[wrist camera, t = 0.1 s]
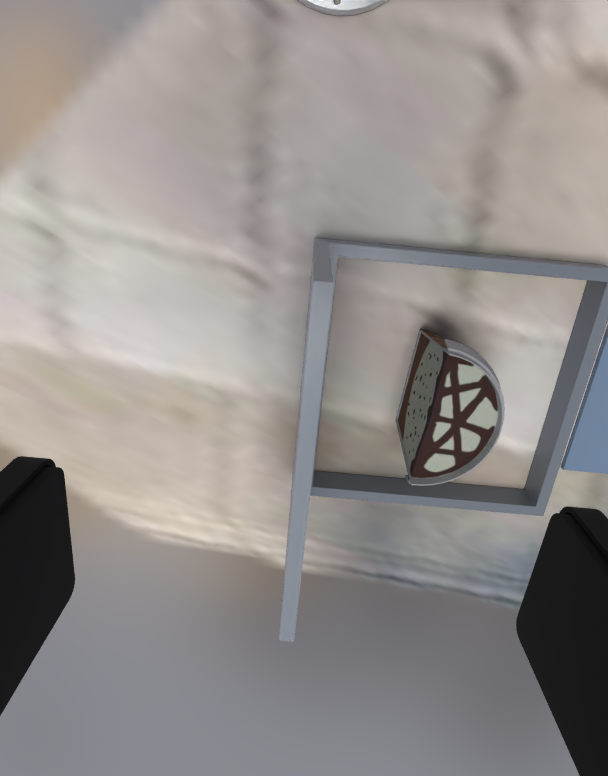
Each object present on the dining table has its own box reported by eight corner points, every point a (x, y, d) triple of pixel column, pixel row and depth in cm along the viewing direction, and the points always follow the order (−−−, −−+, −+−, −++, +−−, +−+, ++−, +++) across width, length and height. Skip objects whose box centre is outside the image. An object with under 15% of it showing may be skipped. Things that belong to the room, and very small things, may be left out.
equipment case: (314, 237, 43) (313, 280, 24) (604, 265, 43) (819, 328, 25) (292, 477, 52) (279, 640, 33) (531, 498, 52) (648, 671, 34)
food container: (452, 442, 50) (483, 502, 41) (392, 432, 50) (409, 490, 41) (490, 324, 45) (534, 361, 36) (424, 313, 45) (451, 347, 36)
